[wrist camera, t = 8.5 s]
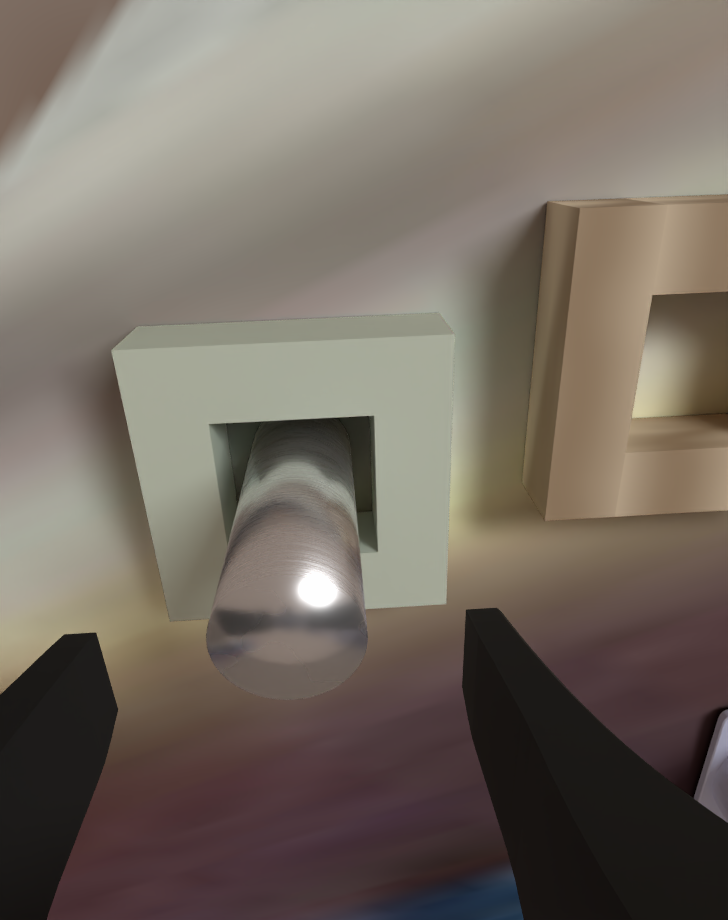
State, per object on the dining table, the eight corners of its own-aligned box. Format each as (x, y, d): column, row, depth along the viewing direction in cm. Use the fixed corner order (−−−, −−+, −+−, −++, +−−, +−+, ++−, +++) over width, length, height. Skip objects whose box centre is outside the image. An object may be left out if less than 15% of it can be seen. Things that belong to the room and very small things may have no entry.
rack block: (439, 312, 19) (454, 334, 17) (434, 559, 23) (446, 604, 20) (137, 326, 18) (111, 350, 16) (185, 574, 22) (169, 621, 20)
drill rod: (351, 404, 20) (369, 574, 12) (349, 492, 21) (365, 697, 13) (250, 404, 20) (199, 577, 12) (255, 492, 21) (213, 702, 13)
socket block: (856, 189, 18) (932, 194, 16) (775, 468, 22) (826, 504, 20) (547, 201, 18) (580, 208, 15) (522, 482, 22) (544, 521, 19)
